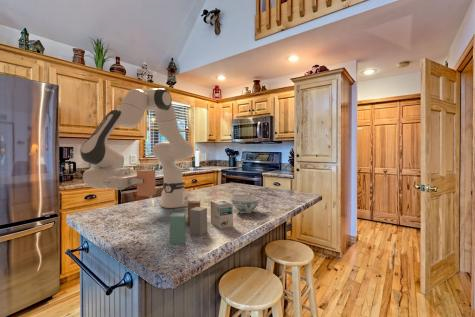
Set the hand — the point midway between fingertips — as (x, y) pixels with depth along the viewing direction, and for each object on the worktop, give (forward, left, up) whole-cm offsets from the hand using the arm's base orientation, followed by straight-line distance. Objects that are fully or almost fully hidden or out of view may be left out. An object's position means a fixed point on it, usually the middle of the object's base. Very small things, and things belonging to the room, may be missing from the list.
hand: (148, 180), depth 95 cm
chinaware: (-42, +31, -22) cm, 57 cm away
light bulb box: (-18, +25, -22) cm, 38 cm away
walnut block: (-17, +12, -22) cm, 30 cm away
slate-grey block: (-6, +19, -22) cm, 30 cm away
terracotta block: (0, -1, -6) cm, 6 cm away
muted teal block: (+4, +15, -22) cm, 27 cm away
